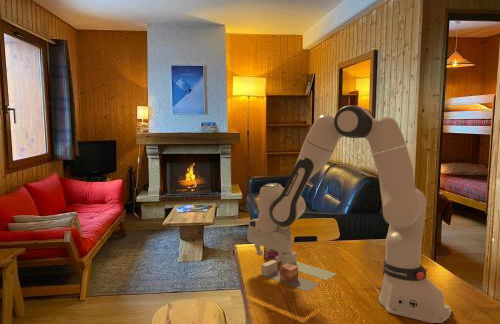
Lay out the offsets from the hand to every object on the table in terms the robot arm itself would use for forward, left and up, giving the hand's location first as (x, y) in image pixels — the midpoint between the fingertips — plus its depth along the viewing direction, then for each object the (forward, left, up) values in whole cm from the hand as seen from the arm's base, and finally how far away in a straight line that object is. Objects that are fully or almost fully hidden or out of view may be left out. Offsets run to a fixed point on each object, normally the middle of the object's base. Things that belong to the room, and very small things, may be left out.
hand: (268, 258), depth 154 cm
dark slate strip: (-10, 0, -7) cm, 12 cm away
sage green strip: (-10, -13, -7) cm, 18 cm away
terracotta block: (-10, 0, -6) cm, 12 cm away
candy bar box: (+9, -17, -7) cm, 21 cm away
